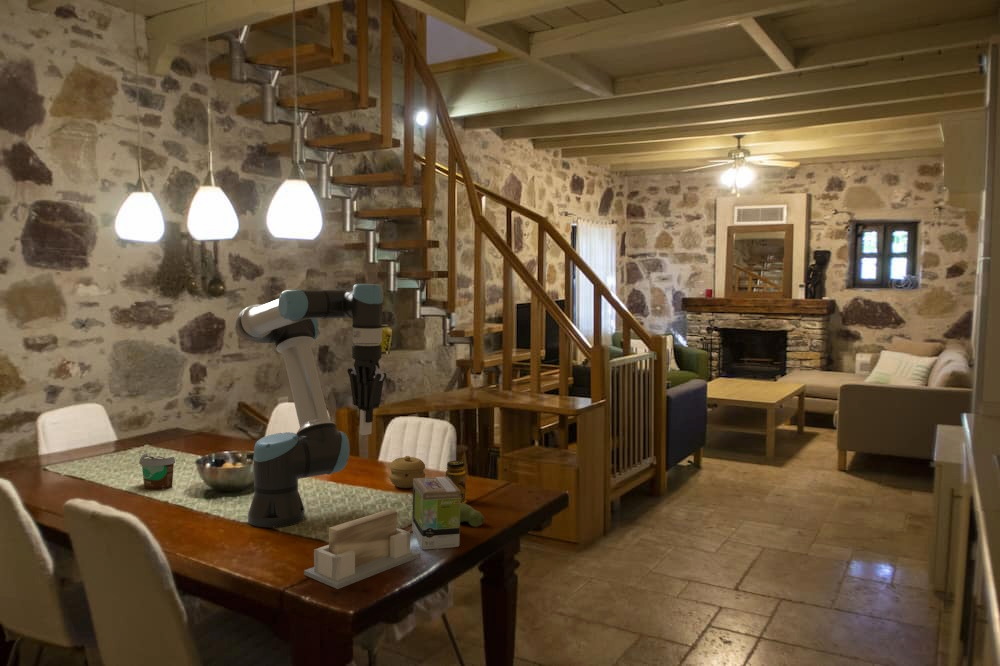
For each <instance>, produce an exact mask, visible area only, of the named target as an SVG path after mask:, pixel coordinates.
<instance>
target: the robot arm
mask: <svg viewBox="0 0 1000 666" xmlns="http://www.w3.org/2000/svg"><path fill="white" fill-rule="evenodd" d="M383 302H384V298H383V287H382V286H381V285H380V284H377V283H375V284H374V283H355V284H354V285H353V287H352V289H348V288H339V289H297V288H295V289H287V290H283V291H282V292H281V293H280V295H279V297H278V298H277V299H275V300H272V301H270V302H266V303H264V304H258V303H257V304H251V305H249V306H246V307H244V308H243V309H242V310H241V311H240V312H239V314H238V315H237V316H238V317H237V319H236V320H237V321H236V324H237V325H236V327H237V329H238V331H239V333H240V334H241V336H242V337H244V339H247V340H248V341H250V342H254V343H257V344H274V345H275V349H276V352H277V353H280V354H281V355H282V356H283V361H284V365H285V369H286V373H287V374H286V375H287V378H288V382H289V386H290V391H291V394H292V398H293V403H294V407H295V411H296V412H295V413H296V416H297V420H298V424H299V425H298V426H299V428H298V430H297V431H296V433H295V432H277V433H273V434H268V435H266V436H263V437H260V438H259V439H258V440H257V441H256V442H255V443H254V444H255V445H254V450H253V457H252V459H253V479H254V480H253V481H254V482H253V483H254V484H253V486H254V492H253V496H252V500H251V503H250V506H249V511H248V512H247V513H248V514H247V522H248V524H249V525H251V526H254V527H257V528H268V529H269V528H271V529H272V528H282V527H287V526H292V525H295V524H298V523H301V522H302V521H304V519H305V516H306V515H305V511H306V510H305V507H304V503H303V501H302V498H301V495H300V492H299V480H300V479H305V478H307V479H308V478H311V477H318V476H325V475H327V476H328V475H329V476H330V475H331V474H334V473H338V472H341V471H343V470H344V468H346V466H347V464H348V461H349V457H350V441H349V438H348V435H347V434H346V432H344V431H341V430H338V428H337V424H336V423H335V422H333V420H330V417H329V413H328V409H327V405H326V401H325V398H324V393H323V390H322V385H321V381H320V376H319V373H318V369H317V365H316V361H315V357H314V352H313V350H312V348H313V346H314V345H315V343H316V341H315V340H317V338H318V337H319V319H321V320H322V319H323V320H325V319H328V320H329V319H352V322H351V323H352V327H351V328H352V333H351V334H352V336H351V337H352V338H351V339H352V343H353V344H352V346H351V358H352V359H353V360H354V363H353V366H352V367H350V368H347V370H346V372H347V374H348V377H349V381H350V382H349V383H350V388H351V389H350V390H351V396H352V403H353V406H357V409H358V420H359V435H360V436H366V435H372V428H373V426H372V425H373V424H372V422H373V421H374V420H373V419H374V410H375V409H379V407H380V402H381V399H382V398H381V397H382V391H383V389H384V381H385V380H386V377H387V374H386V372H382V371H381V367H380V362H379V361H380V360H381V359H382V358H383V357H382V354H383V353H382V349H383V346H382V345H381V343H382V342H383V327H382V326H383V306H384V305H383Z"/></svg>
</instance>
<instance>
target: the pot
mask: <svg viewBox="0 0 1000 666" xmlns="http://www.w3.org/2000/svg"><path fill="white" fill-rule="evenodd" d="M388 469H389V470H390V472H389V474H388V479H389V480H390V481H391V482H390V483H392V484H393V486H395V487H397V488H399V489H413V478H426V472H425V471H424V470H425V469H426V464H425V462H424V461H423V460H421V459H420V458H417V457H411V456H409V455H405V456H403V457H398V458H395V459H393V460H392V462H390V463H389V468H388Z"/></svg>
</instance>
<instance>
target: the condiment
mask: <svg viewBox="0 0 1000 666" xmlns="http://www.w3.org/2000/svg"><path fill="white" fill-rule="evenodd" d="M445 477H449V478H450V479H451V481H452V482H453V483H454V484H455V485H456V486H457V487H458V488H459V490H460V492H461V494H460V497H461V499H460V503H462V502H464V501H465V499H466V478H467V477H466V470H465V462H464V461H462V460H449V461H448V462H447V463H446V471H445Z"/></svg>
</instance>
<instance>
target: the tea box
mask: <svg viewBox="0 0 1000 666" xmlns="http://www.w3.org/2000/svg"><path fill="white" fill-rule="evenodd" d="M460 494H461V492H460V490H459V488H458V487H457V486H456V485H455V484H454V483H453V482H452V481H451V479H450V478H449V477H446V476H433V477H432V476H431V477H425V478H413V488H412V515H411V516H412V521H411V523H412V524H411V525H412V526H411V529H412V532H413V534H414V537H415V539H416V541H417V543H418V545H419V546H420V548H421V549H422V550H423V551H424V550H438V549H450V548H459V546H460V537H461V536H460V532H461V531H460V530H461V529H460V528H461V522H460V499H461V497H460Z"/></svg>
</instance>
